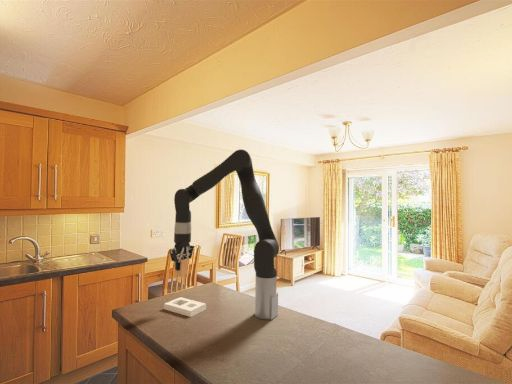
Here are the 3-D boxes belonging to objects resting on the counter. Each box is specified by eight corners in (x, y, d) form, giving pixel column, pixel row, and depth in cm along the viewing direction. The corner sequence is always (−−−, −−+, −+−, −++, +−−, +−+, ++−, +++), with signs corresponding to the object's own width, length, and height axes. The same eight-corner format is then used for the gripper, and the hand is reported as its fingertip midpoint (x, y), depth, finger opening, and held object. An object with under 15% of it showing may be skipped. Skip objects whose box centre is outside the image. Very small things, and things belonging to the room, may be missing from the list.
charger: (187, 274, 129) (188, 254, 130) (181, 276, 126) (181, 256, 126) (181, 272, 131) (181, 253, 132) (174, 274, 128) (175, 255, 128)
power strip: (205, 309, 127) (206, 303, 127) (190, 317, 119) (190, 310, 119) (180, 302, 135) (180, 296, 135) (164, 309, 127) (164, 303, 127)
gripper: (177, 234, 121) (175, 274, 121) (199, 231, 133) (198, 267, 133) (165, 232, 125) (163, 271, 124) (187, 230, 137) (186, 265, 137)
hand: (181, 269), depth 129 cm, fingers closed on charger, 4 cm apart
